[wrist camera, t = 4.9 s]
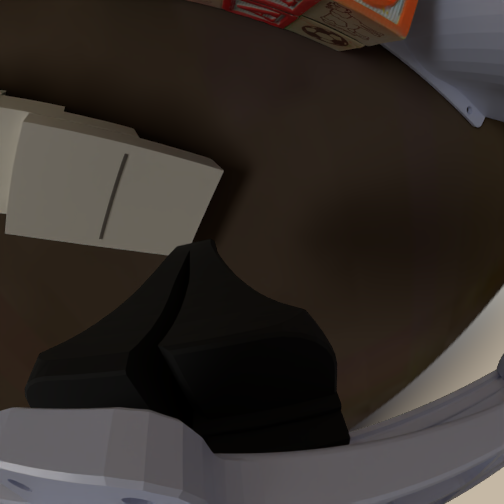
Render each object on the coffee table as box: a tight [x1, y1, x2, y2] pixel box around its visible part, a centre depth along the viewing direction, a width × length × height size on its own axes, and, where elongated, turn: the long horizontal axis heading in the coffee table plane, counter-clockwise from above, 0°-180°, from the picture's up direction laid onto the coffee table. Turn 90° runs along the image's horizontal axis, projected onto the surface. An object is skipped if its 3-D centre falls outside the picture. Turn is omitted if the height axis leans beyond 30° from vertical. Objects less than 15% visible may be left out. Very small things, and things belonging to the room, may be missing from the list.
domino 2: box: [5, 113, 224, 255], centre depth 13 cm, size 2×5×9 cm
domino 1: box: [0, 100, 139, 214], centre depth 12 cm, size 2×5×9 cm
